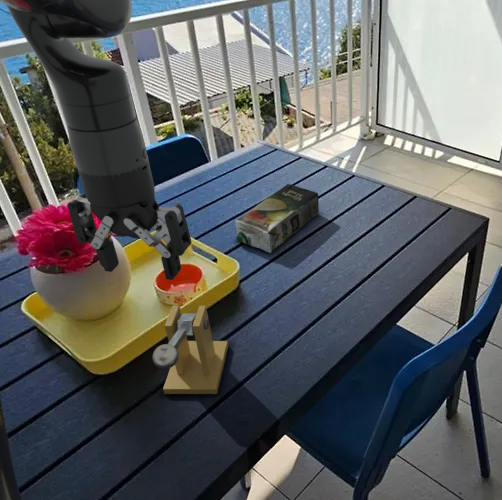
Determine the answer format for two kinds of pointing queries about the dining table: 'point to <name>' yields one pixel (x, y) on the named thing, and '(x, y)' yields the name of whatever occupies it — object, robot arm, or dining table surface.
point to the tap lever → (174, 342)
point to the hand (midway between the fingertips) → (142, 272)
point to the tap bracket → (195, 357)
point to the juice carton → (277, 217)
